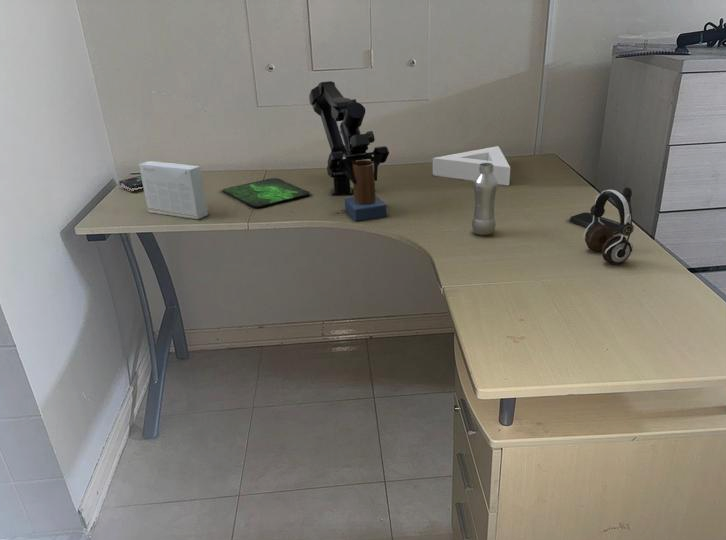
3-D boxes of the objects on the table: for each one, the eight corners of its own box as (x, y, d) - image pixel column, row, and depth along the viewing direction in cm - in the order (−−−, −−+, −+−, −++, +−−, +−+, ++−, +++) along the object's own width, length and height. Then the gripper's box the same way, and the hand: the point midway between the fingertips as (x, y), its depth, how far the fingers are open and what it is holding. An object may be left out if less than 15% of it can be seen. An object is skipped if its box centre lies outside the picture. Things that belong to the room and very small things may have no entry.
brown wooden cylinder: (359, 197, 205) (357, 159, 198) (378, 199, 202) (377, 161, 196) (351, 203, 199) (348, 165, 193) (370, 205, 197) (368, 166, 191)
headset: (637, 268, 161) (652, 191, 151) (609, 272, 160) (622, 194, 150) (603, 244, 176) (614, 171, 166) (577, 247, 174) (586, 174, 164)
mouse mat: (220, 190, 228) (219, 187, 227) (274, 178, 239) (274, 175, 239) (255, 209, 209) (254, 206, 208) (312, 195, 220) (312, 192, 219)
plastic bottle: (494, 238, 182) (498, 168, 172) (470, 237, 183) (473, 167, 173) (495, 230, 187) (499, 161, 177) (472, 229, 188) (475, 161, 178)
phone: (586, 211, 195) (627, 225, 184) (585, 215, 195) (626, 228, 185) (568, 217, 191) (609, 231, 180) (567, 221, 192) (609, 235, 181)
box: (344, 210, 206) (343, 198, 204) (374, 206, 209) (374, 194, 207) (355, 221, 197) (355, 209, 195) (387, 216, 200) (386, 204, 198)
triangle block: (509, 185, 224) (510, 167, 220) (434, 187, 224) (434, 169, 221) (497, 162, 250) (498, 145, 246) (430, 164, 250) (430, 147, 247)
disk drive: (133, 194, 228) (170, 184, 237) (131, 186, 227) (169, 176, 236) (120, 188, 235) (157, 178, 244) (118, 180, 233) (155, 171, 242)
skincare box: (209, 214, 206) (201, 165, 198) (198, 220, 202) (189, 170, 194) (159, 207, 214) (148, 159, 206) (147, 212, 210) (136, 164, 202)
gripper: (327, 125, 190) (340, 172, 186) (386, 119, 195) (400, 164, 192) (322, 146, 200) (334, 191, 197) (378, 139, 205) (391, 183, 202)
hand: (365, 181), depth 196 cm, fingers closed on brown wooden cylinder, 6 cm apart
